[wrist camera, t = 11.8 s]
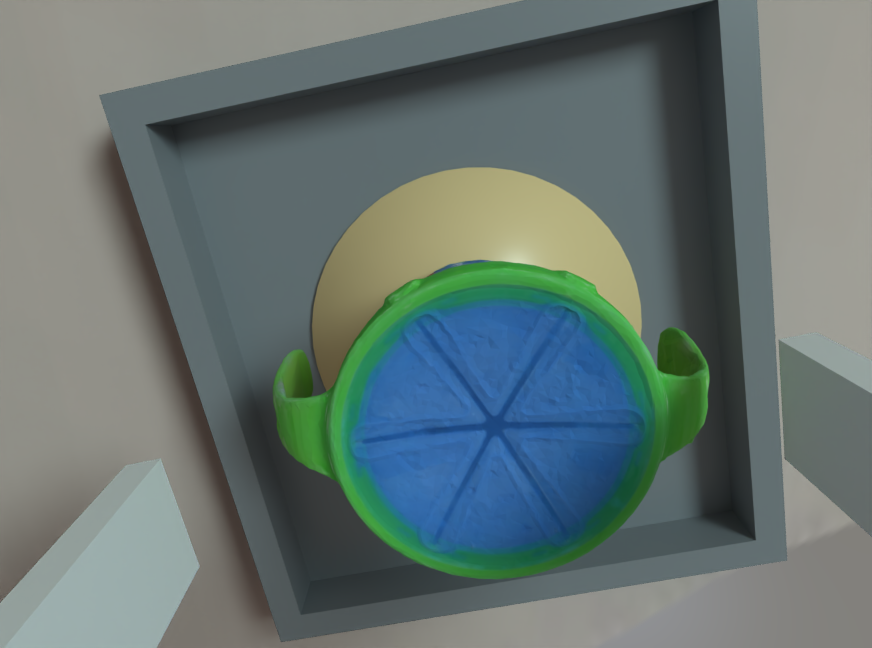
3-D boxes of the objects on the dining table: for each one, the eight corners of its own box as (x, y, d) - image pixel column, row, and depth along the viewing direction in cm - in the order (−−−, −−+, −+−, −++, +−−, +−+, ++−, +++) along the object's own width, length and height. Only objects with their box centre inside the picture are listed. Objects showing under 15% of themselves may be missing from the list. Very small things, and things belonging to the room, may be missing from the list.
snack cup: (665, 230, 20) (786, 282, 13) (633, 448, 22) (721, 594, 15) (307, 212, 20) (233, 256, 13) (309, 433, 22) (247, 572, 15)
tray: (296, 592, 26) (281, 642, 23) (141, 99, 20) (99, 95, 18) (751, 516, 24) (787, 560, 22) (713, -27, 19) (754, -52, 17)
